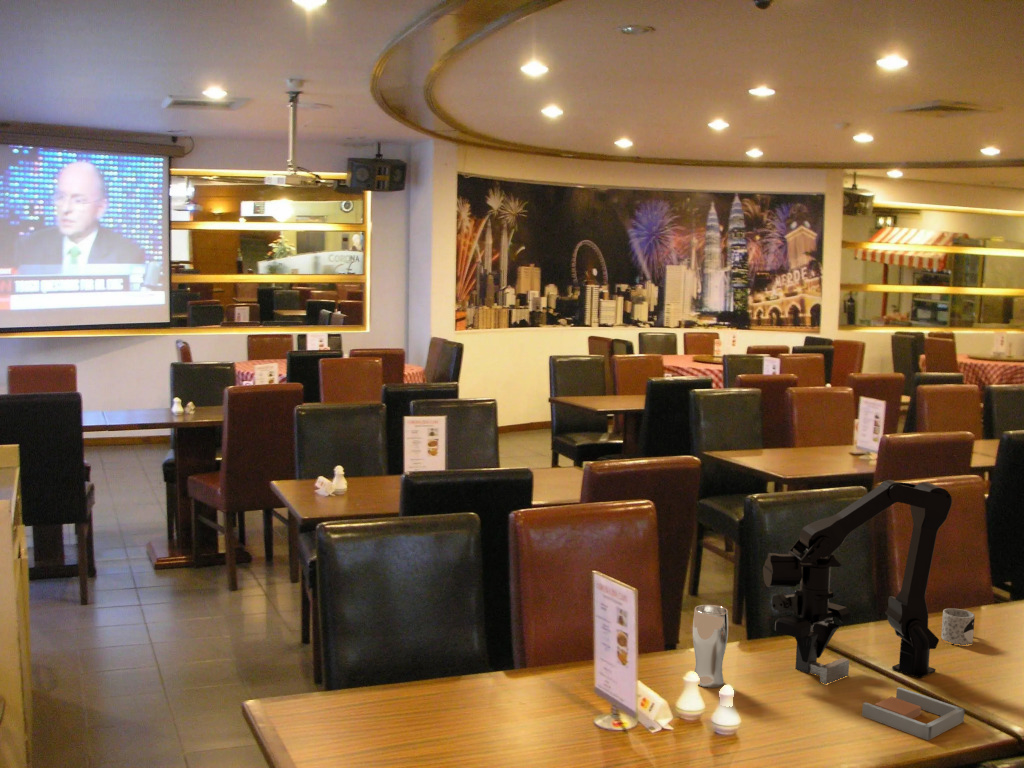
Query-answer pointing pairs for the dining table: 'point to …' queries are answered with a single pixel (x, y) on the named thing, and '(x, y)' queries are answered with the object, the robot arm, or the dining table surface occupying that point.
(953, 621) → the mug
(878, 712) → the corral
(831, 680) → the grey angular piece
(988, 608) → the dining table surface
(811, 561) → the robot arm
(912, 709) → the terracotta tile
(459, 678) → the dining table surface
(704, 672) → the beer glass
